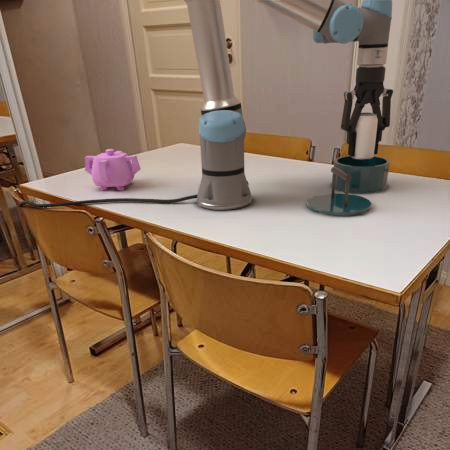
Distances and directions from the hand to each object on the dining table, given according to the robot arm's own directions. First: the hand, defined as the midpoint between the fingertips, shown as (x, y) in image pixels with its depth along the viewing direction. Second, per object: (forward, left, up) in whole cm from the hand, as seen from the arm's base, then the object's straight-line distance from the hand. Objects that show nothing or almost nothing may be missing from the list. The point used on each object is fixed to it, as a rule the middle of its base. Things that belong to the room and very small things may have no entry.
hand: (362, 154), depth 135 cm
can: (0, 0, -1) cm, 1 cm away
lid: (-14, -16, -9) cm, 23 cm away
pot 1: (-72, +26, -10) cm, 77 cm away
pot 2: (0, 0, -9) cm, 9 cm away
